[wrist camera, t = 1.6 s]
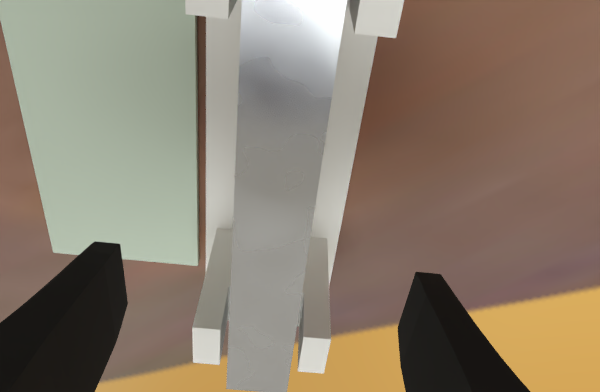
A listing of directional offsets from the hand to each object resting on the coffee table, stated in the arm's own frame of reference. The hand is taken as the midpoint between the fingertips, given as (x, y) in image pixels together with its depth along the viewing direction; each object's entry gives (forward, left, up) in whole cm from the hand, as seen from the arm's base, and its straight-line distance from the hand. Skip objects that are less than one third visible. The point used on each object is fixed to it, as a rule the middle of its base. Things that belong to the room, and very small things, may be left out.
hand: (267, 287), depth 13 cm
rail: (0, 0, -5) cm, 5 cm away
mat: (-7, 0, -10) cm, 12 cm away
